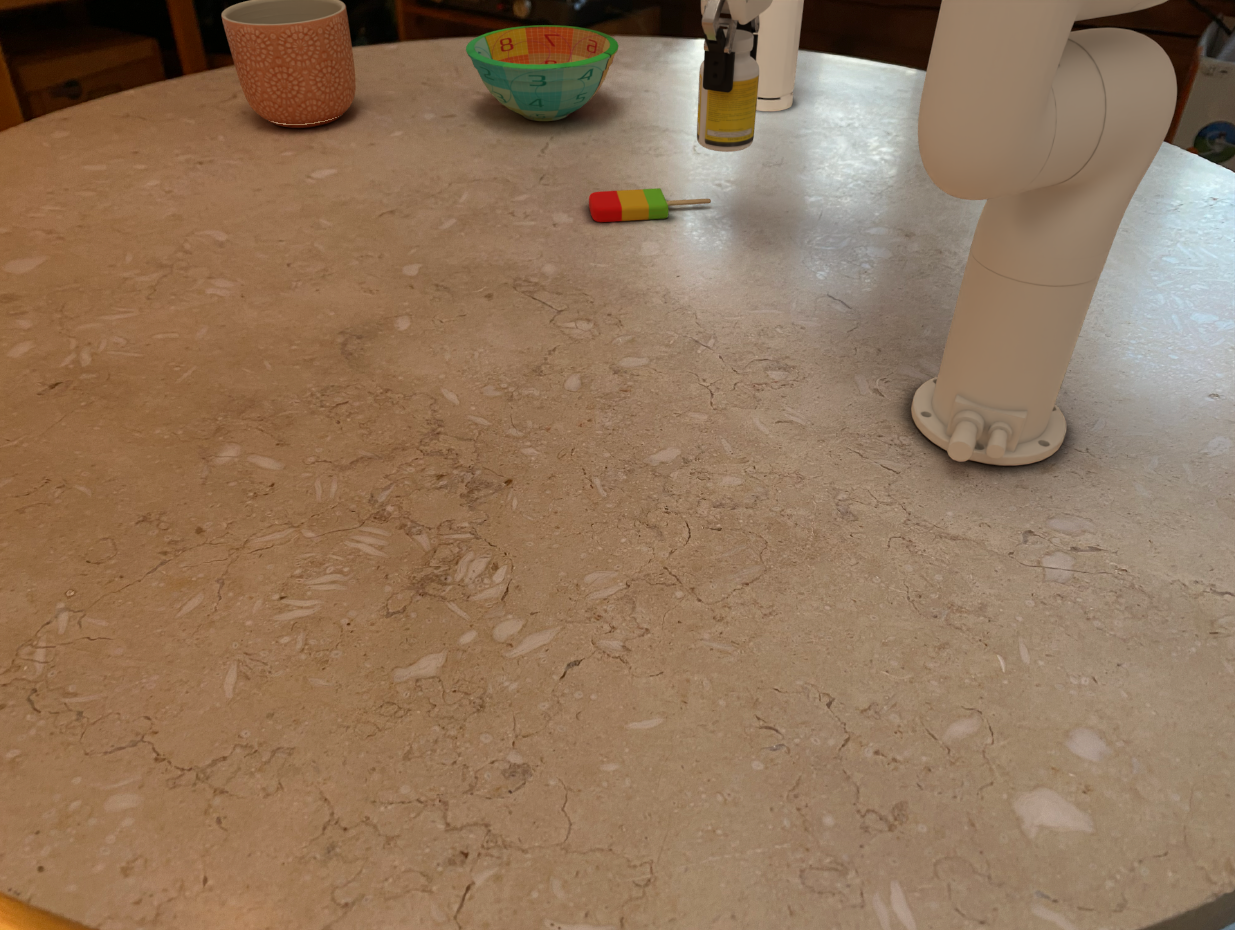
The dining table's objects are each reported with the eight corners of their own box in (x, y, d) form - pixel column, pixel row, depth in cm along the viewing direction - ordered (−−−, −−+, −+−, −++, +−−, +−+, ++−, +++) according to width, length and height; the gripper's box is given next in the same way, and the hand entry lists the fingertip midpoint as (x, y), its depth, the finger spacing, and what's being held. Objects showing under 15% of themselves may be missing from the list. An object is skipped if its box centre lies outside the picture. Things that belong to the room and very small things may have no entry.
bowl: (441, 119, 141) (433, 49, 135) (534, 82, 156) (530, 17, 149) (559, 150, 131) (556, 76, 125) (646, 107, 146) (647, 38, 139)
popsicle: (587, 205, 117) (587, 190, 116) (705, 199, 119) (706, 184, 117) (592, 224, 113) (592, 209, 112) (715, 217, 114) (716, 202, 113)
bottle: (763, 91, 152) (782, -110, 134) (802, 103, 147) (827, -104, 129) (729, 102, 147) (744, -104, 130) (769, 115, 143) (790, -98, 125)
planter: (386, 115, 143) (369, 7, 133) (291, 146, 133) (265, 31, 123) (320, 92, 152) (299, -11, 142) (225, 119, 142) (197, 11, 132)
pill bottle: (760, 152, 104) (770, 41, 97) (703, 156, 104) (709, 44, 96) (744, 132, 109) (753, 25, 102) (690, 135, 109) (695, 28, 101)
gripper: (750, -95, 84) (734, 109, 95) (806, -120, 96) (786, 63, 107) (672, -100, 86) (666, 99, 97) (736, -124, 98) (724, 55, 110)
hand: (729, 79), depth 102 cm, fingers closed on pill bottle, 6 cm apart
